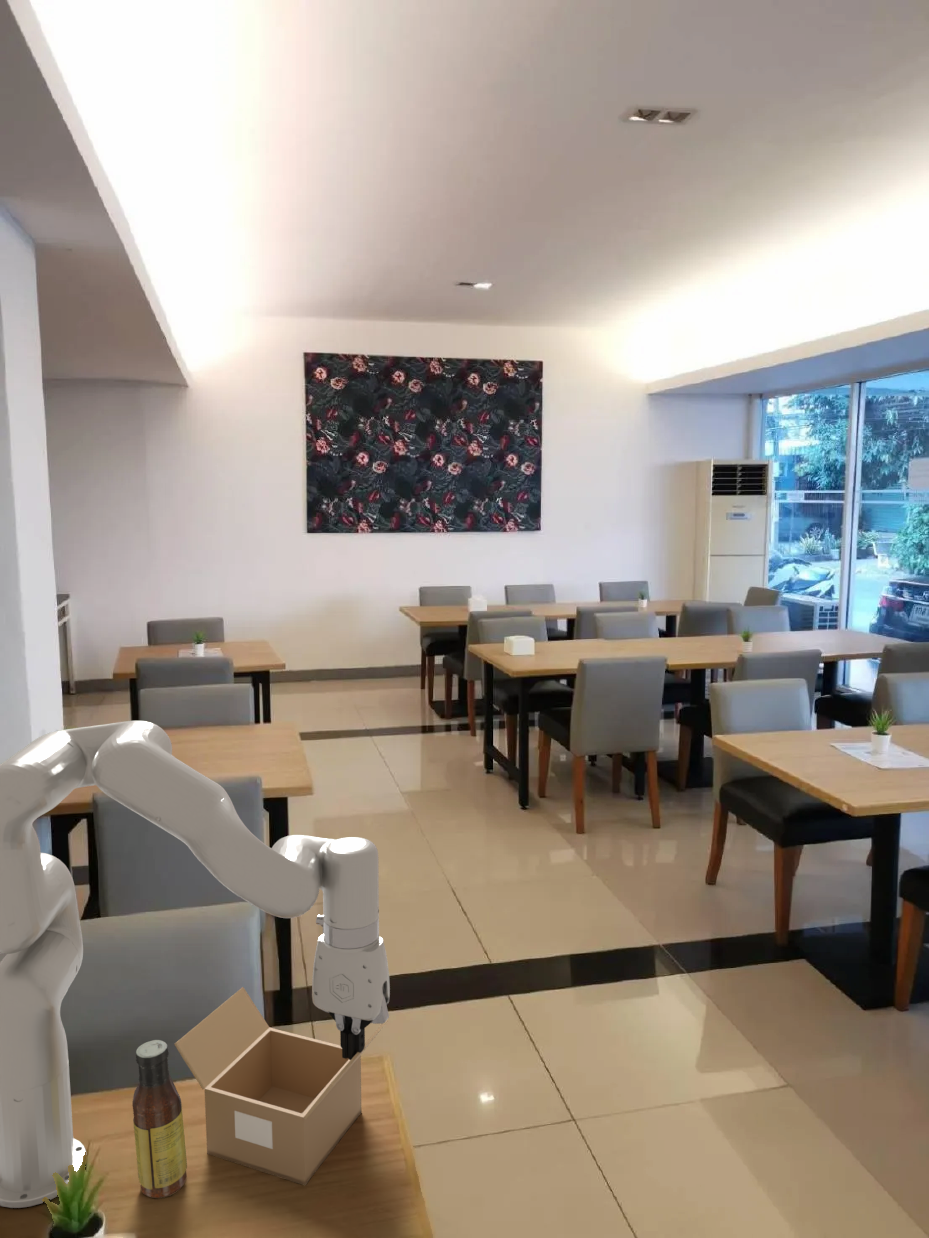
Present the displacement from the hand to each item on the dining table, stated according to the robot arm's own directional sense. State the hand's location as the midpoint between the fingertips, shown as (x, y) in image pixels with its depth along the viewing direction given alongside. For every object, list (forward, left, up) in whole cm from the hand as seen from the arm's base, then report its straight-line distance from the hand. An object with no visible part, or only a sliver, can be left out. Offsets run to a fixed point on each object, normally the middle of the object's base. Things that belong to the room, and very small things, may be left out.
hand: (352, 1053), depth 129 cm
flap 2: (-1, 0, -2) cm, 2 cm away
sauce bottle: (-21, -15, -15) cm, 30 cm away
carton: (-11, 0, -15) cm, 19 cm away
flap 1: (-21, 0, -2) cm, 22 cm away
